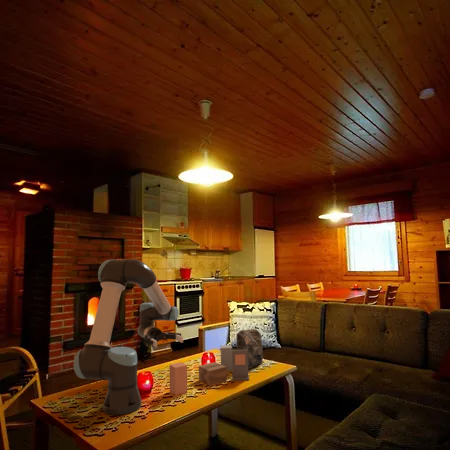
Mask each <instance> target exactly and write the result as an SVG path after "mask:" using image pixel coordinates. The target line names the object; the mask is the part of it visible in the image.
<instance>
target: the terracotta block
mask: <svg viewBox="0 0 450 450" xmlns="http://www.w3.org/2000/svg"><path fill="white" fill-rule="evenodd" d="M169 392H170V393H171V394H172V393H173V395H174V396H175V395H176V396H179V394H180V395H182V394H187V393H188V364H185V363H183V362H182V361H181V362H177V363H176V362H175V363H171V364H169Z"/></svg>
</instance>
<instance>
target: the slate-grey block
mask: <svg viewBox="0 0 450 450" xmlns="http://www.w3.org/2000/svg"><path fill="white" fill-rule="evenodd" d="M219 347H220V364H221V365H223V366H226V369H227V372H229V371H230V372H232V350H233V346H232V344H224V345H223V344H222V345H220V346H219Z"/></svg>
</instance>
